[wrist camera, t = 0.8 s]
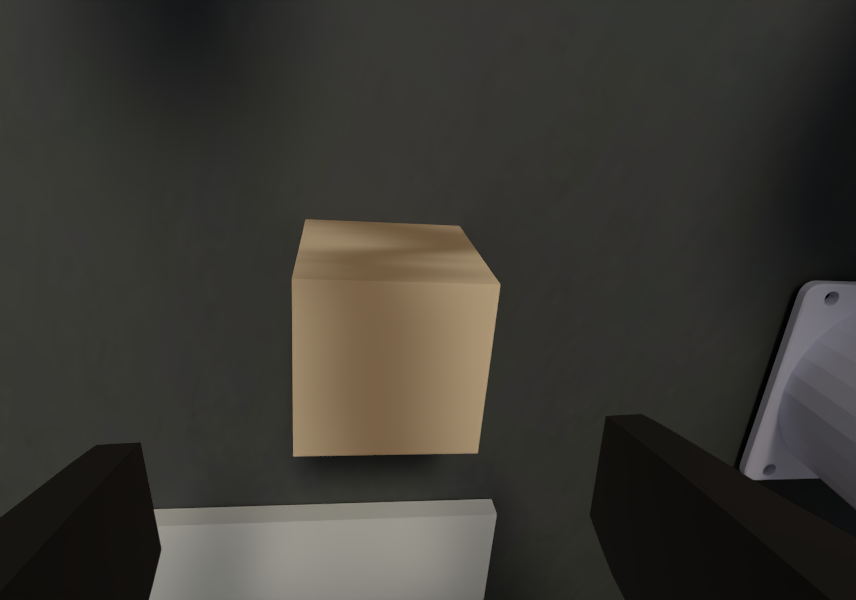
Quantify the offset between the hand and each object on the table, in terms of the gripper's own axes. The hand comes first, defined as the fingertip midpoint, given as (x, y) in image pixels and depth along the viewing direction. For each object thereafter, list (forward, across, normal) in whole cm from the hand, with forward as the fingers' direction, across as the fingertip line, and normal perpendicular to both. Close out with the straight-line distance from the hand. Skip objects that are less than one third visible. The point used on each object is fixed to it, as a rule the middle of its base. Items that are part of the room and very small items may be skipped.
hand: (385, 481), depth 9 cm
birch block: (+9, 0, 0) cm, 9 cm away
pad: (+9, +2, +14) cm, 17 cm away
